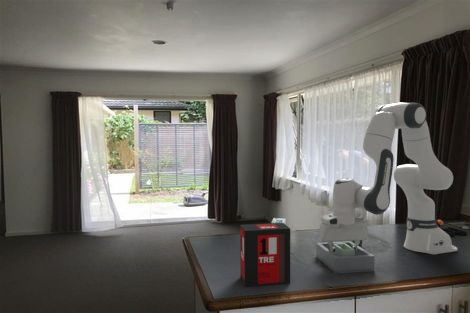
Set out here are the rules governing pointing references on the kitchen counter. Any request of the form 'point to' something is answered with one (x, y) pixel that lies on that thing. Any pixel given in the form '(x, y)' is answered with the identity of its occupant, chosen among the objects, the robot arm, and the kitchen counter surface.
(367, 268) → the large crate
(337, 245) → the small crate
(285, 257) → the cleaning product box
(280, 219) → the light bulb box
